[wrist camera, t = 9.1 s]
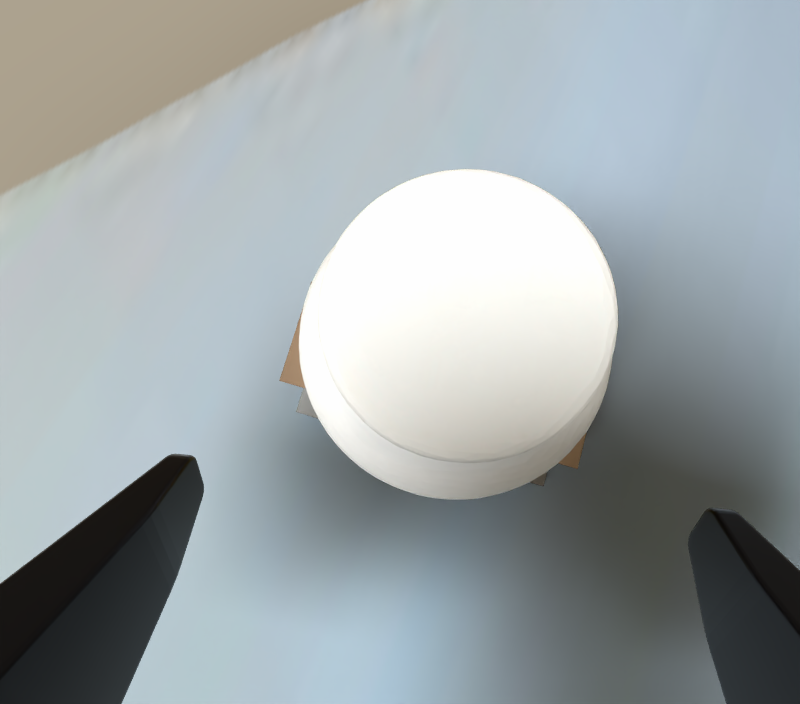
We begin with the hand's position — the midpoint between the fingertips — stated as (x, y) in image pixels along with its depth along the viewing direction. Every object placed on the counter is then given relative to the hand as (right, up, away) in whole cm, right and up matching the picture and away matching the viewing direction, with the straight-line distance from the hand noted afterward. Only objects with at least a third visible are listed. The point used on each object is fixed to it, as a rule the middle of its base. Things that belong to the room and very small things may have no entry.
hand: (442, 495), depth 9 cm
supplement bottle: (+1, +2, +8) cm, 8 cm away
